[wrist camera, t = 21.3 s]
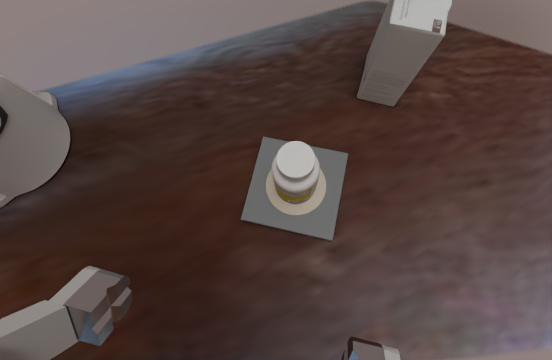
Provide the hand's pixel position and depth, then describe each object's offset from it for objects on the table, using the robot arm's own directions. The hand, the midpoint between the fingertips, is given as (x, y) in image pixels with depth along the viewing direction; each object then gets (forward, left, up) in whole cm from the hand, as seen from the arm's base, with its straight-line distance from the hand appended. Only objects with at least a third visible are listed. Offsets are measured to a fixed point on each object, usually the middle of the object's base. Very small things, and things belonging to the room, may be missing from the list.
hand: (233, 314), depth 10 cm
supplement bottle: (0, +12, -26) cm, 29 cm away
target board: (0, +12, -27) cm, 30 cm away
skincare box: (+9, +31, -28) cm, 43 cm away
